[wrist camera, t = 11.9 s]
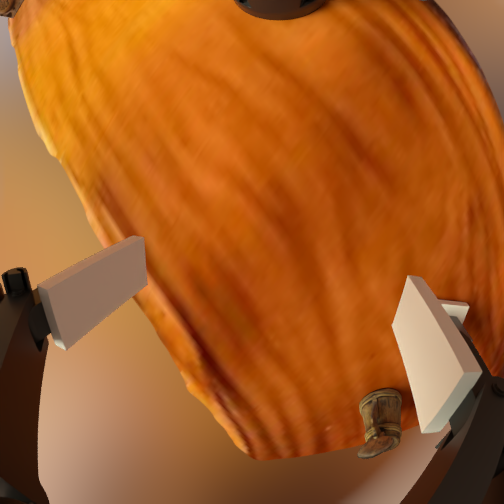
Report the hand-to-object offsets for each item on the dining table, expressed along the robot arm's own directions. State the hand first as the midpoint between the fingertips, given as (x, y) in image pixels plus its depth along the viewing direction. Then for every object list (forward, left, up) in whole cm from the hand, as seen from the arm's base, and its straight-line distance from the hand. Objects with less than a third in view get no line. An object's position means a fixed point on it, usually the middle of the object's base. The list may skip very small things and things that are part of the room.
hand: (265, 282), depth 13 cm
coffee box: (-71, -98, -27) cm, 124 cm away
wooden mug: (+35, +21, -27) cm, 49 cm away
